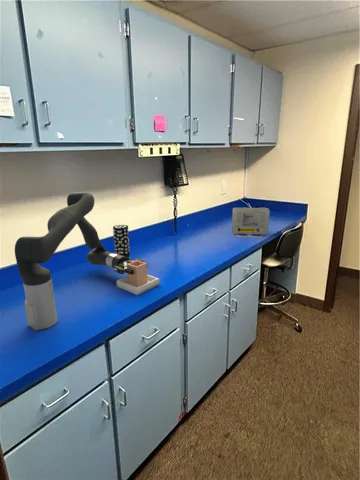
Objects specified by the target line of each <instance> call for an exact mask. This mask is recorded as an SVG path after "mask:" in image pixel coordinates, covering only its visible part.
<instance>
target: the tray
mask: <svg viewBox="0 0 360 480" xmlns="http://www.w3.org/2000/svg"><path fill="white" fill-rule="evenodd" d="M147 282H148V283H146V284H144V285H142V286H140V287H135V286H132V285H130V284H128V275H127V276H124V277H123V278H120V279H117V280H116V287H117V288H120V289H122V290H124V291H127V292H129V293H131V294H134V295H136V296H139V295H141V294H142V293H145V292H147V291H149V290H151V289H153V288H155V287H157V286H159V285H160V278H158V277H156V276H153V275H150V274H147Z"/></svg>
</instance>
